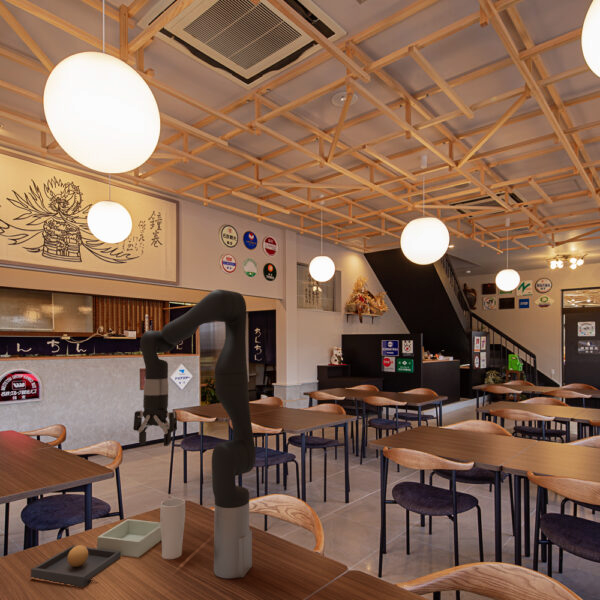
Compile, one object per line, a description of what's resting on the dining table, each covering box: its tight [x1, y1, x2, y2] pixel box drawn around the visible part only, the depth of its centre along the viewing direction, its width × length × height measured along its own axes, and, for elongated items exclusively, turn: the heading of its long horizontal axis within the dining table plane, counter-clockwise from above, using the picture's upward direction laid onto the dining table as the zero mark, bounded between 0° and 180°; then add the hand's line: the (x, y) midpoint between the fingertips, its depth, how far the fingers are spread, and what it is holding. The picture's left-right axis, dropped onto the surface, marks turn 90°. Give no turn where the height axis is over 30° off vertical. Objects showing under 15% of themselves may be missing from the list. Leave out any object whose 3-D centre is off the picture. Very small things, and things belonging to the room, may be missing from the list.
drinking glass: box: [159, 498, 186, 560], centre depth 123 cm, size 7×7×15 cm
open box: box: [96, 518, 162, 558], centre depth 129 cm, size 14×14×5 cm
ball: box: [67, 544, 88, 567], centre depth 116 cm, size 5×5×5 cm
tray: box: [30, 545, 122, 589], centre depth 116 cm, size 16×14×2 cm
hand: (154, 444), depth 138 cm, fingers open, 8 cm apart
